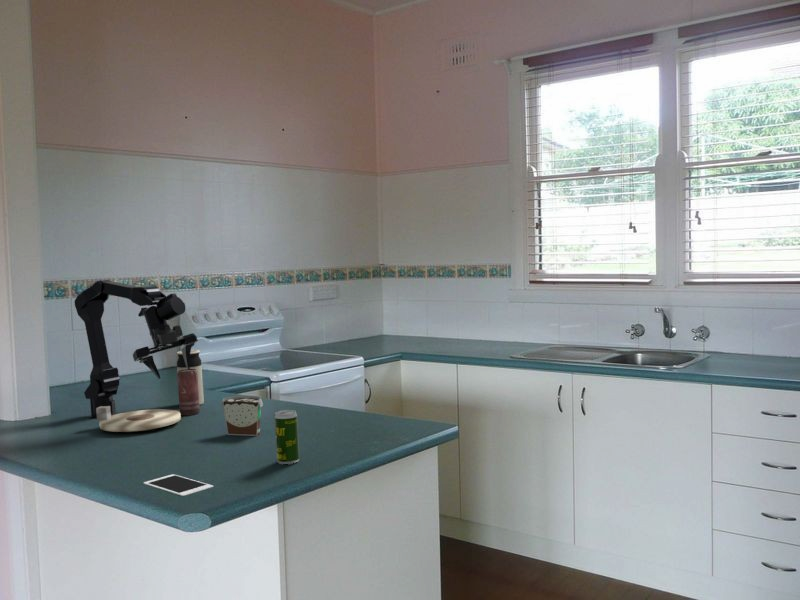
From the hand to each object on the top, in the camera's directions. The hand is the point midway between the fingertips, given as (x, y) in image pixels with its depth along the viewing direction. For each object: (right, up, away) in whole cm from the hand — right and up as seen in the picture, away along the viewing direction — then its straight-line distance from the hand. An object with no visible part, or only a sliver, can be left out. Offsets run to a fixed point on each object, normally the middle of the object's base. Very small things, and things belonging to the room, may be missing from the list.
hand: (174, 373), depth 240 cm
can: (+2, -14, +12) cm, 19 cm away
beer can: (+42, -16, -50) cm, 67 cm away
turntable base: (-9, -15, -4) cm, 18 cm away
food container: (+26, -15, -18) cm, 35 cm away
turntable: (-9, -14, -4) cm, 17 cm away
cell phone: (+19, -19, -65) cm, 70 cm away
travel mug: (-2, -13, +27) cm, 30 cm away
